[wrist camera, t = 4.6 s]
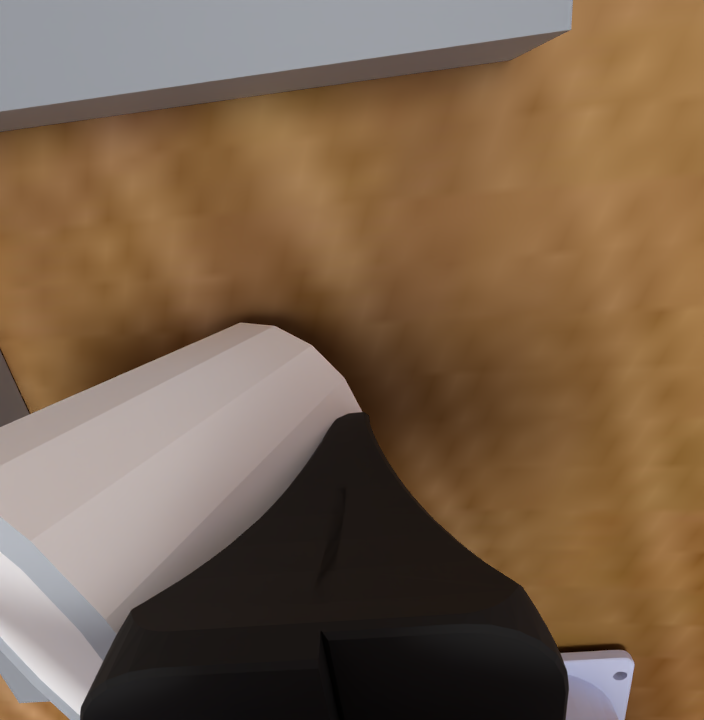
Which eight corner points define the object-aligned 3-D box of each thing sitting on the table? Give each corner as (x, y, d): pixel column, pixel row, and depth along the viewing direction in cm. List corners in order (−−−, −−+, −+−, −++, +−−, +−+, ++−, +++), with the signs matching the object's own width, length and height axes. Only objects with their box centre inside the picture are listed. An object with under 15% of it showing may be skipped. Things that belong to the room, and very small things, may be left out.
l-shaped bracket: (504, 576, 18) (535, 674, 14) (77, 606, 19) (19, 703, 15) (511, -23, 10) (578, -93, 7) (-186, 83, 11) (-398, 64, 8)
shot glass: (168, 417, 16) (-74, 585, 11) (208, 244, 12) (-159, 381, 6) (332, 552, 15) (154, 813, 10) (443, 416, 11) (234, 749, 5)
